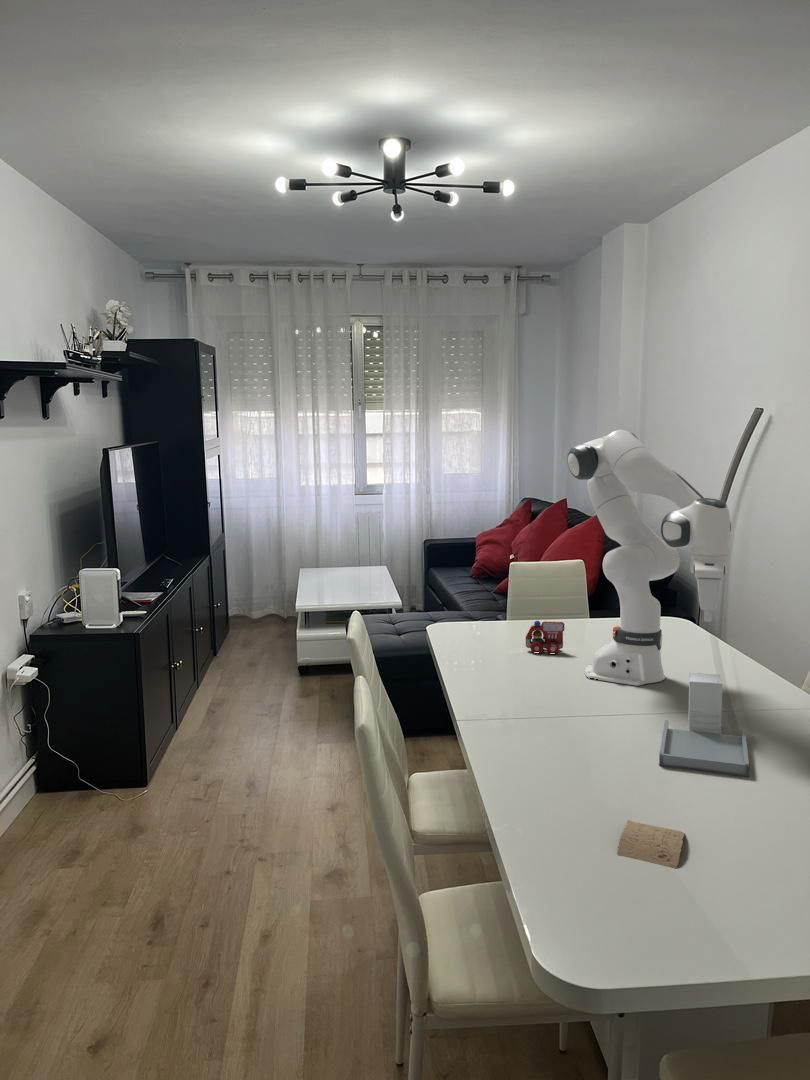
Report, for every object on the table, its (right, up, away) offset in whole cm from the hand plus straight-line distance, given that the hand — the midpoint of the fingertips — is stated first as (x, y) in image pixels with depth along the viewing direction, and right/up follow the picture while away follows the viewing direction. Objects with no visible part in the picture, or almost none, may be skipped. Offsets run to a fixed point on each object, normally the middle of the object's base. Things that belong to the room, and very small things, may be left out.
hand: (707, 620), depth 196 cm
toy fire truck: (-29, -17, +63) cm, 72 cm away
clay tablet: (-32, -34, -58) cm, 74 cm away
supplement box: (-3, -26, -5) cm, 26 cm away
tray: (-8, -27, -19) cm, 34 cm away
